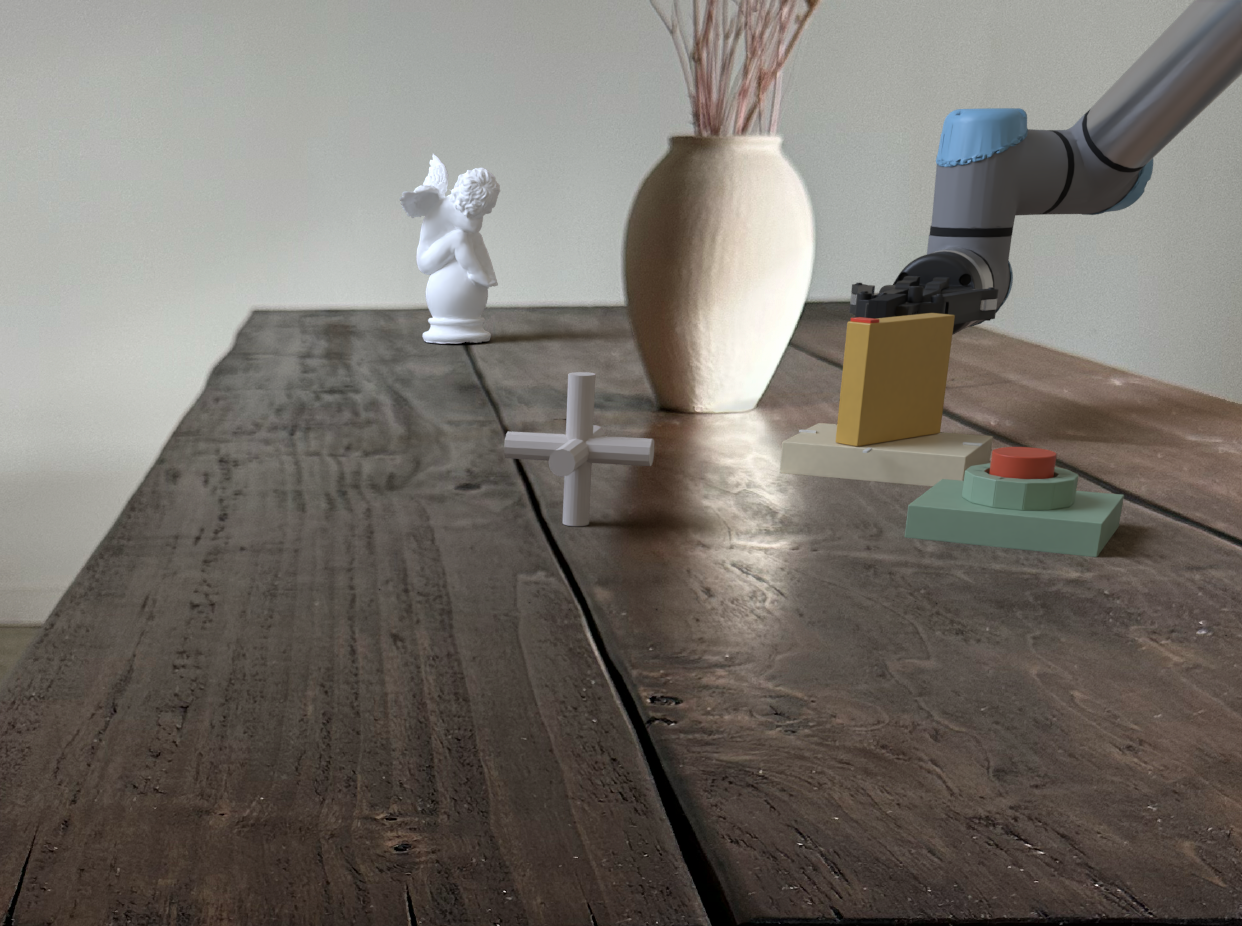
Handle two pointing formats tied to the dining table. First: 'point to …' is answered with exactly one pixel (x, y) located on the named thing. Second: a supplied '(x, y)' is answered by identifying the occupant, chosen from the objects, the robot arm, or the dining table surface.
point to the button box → (1016, 513)
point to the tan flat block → (893, 378)
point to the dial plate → (884, 457)
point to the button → (1023, 463)
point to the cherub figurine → (454, 251)
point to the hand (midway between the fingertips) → (876, 317)
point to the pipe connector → (578, 448)
